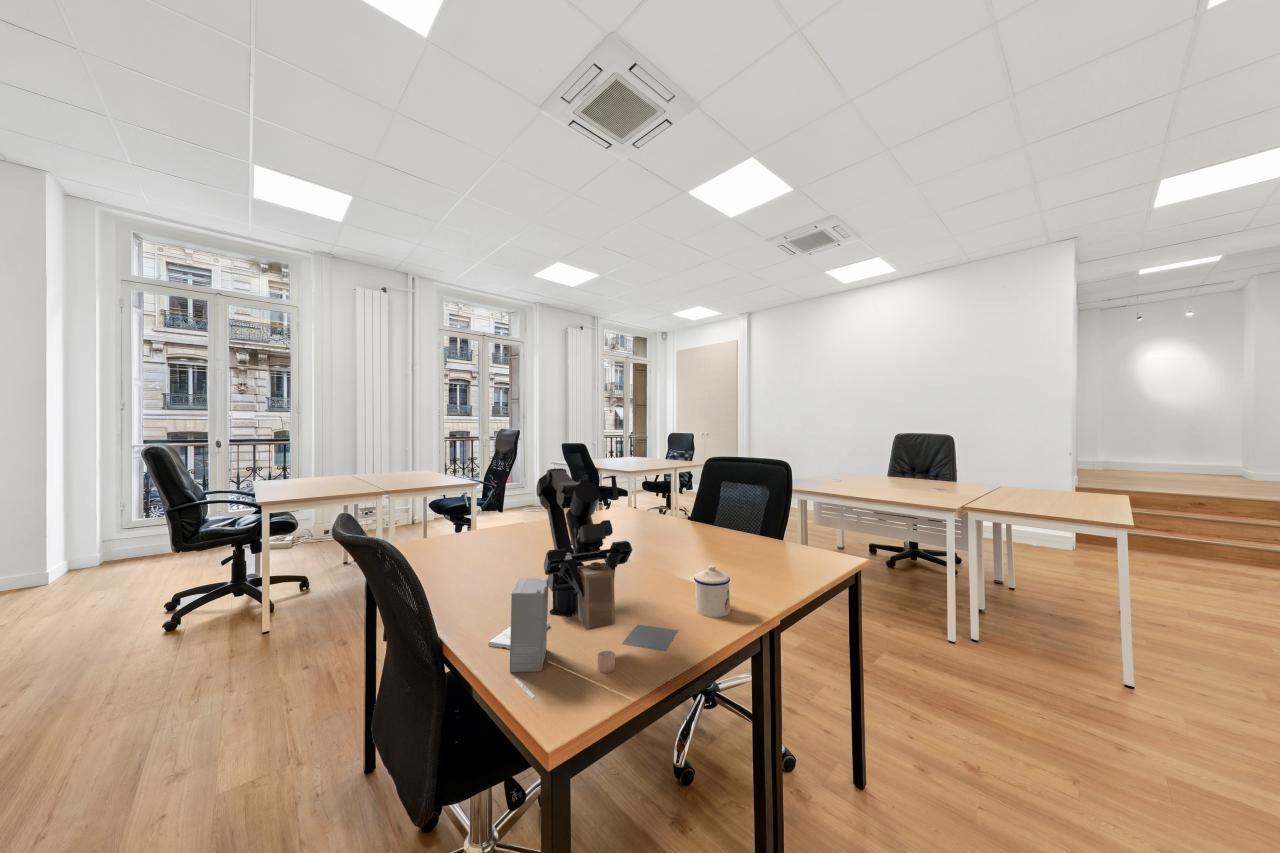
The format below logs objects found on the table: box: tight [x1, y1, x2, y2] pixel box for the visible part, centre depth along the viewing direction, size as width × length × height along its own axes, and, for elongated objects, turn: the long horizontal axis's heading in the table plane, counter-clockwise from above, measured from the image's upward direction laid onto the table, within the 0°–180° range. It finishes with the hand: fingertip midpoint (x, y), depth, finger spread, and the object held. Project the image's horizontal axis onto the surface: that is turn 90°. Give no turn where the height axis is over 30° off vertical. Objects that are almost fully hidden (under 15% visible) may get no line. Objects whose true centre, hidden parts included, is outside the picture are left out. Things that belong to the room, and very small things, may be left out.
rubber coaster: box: [621, 623, 679, 652], centre depth 97 cm, size 10×10×1 cm
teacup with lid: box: [693, 564, 731, 619], centre depth 112 cm, size 12×9×12 cm
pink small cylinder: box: [597, 650, 616, 674], centre depth 84 cm, size 3×3×3 cm
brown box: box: [577, 561, 616, 631], centre depth 90 cm, size 6×6×12 cm
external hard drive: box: [487, 621, 551, 650], centre depth 100 cm, size 2×8×12 cm
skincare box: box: [509, 577, 549, 673], centre depth 88 cm, size 8×7×16 cm
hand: (597, 593), depth 89 cm, fingers closed on brown box, 6 cm apart
